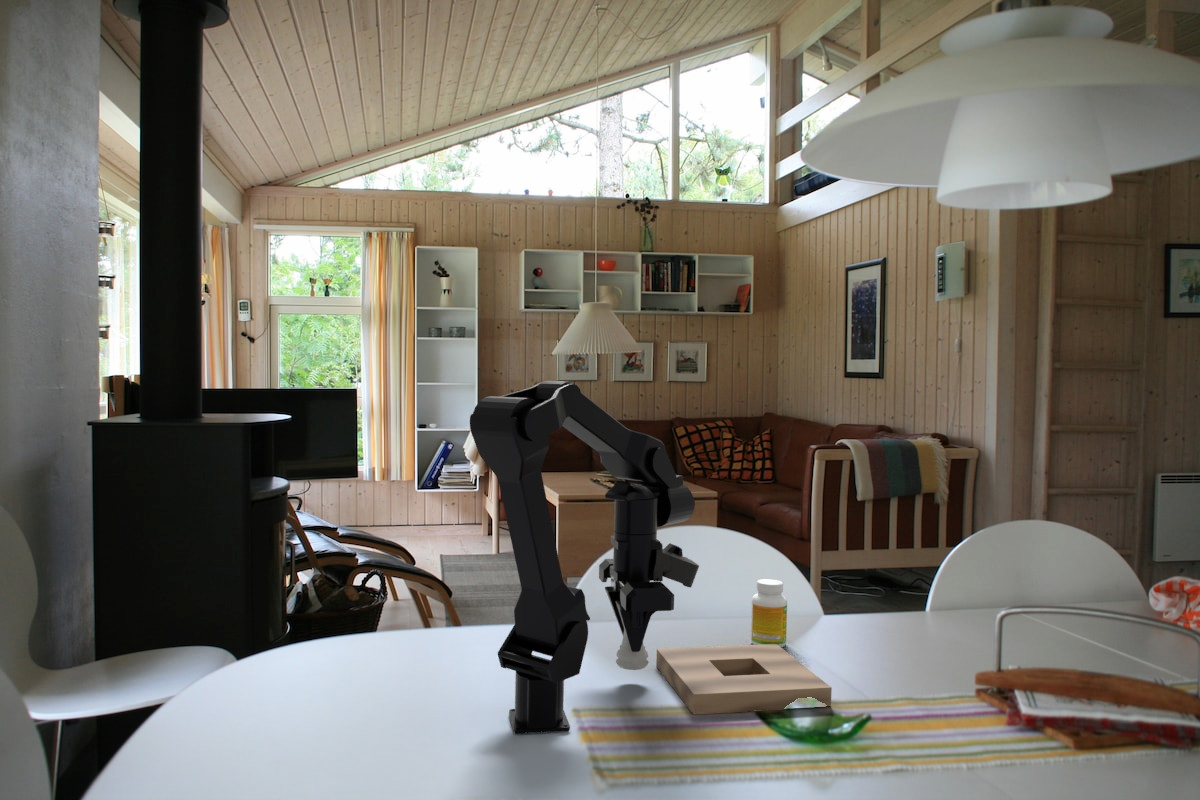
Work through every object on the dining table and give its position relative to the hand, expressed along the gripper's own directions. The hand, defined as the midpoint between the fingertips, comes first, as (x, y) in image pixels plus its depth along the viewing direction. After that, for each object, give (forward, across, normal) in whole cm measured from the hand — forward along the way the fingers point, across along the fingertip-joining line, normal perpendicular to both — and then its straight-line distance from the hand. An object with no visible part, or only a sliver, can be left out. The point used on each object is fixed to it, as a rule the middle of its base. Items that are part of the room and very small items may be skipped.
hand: (632, 647), depth 120 cm
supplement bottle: (+5, +14, -25) cm, 29 cm away
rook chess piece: (+3, 0, 0) cm, 3 cm away
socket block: (+5, -3, -14) cm, 15 cm away
